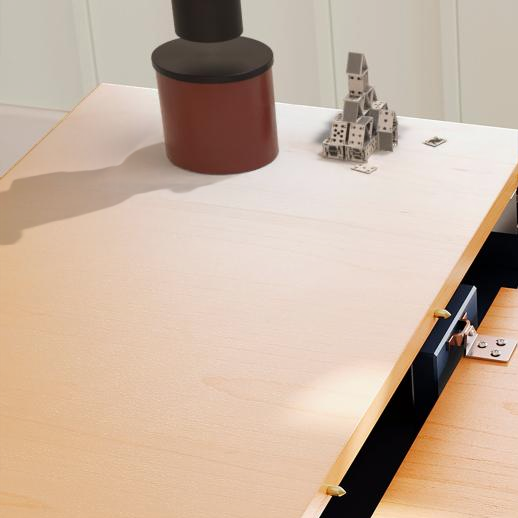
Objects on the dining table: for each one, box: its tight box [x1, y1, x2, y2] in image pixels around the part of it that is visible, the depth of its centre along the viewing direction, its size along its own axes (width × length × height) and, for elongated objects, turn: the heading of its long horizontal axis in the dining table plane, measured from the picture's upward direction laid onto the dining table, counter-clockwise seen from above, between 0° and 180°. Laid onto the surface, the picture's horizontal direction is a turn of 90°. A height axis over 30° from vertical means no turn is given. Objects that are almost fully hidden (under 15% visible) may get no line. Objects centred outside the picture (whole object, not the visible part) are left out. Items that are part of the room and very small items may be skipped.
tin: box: [150, 35, 280, 176], centre depth 124 cm, size 9×9×8 cm
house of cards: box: [322, 51, 448, 174], centre depth 126 cm, size 9×9×8 cm
